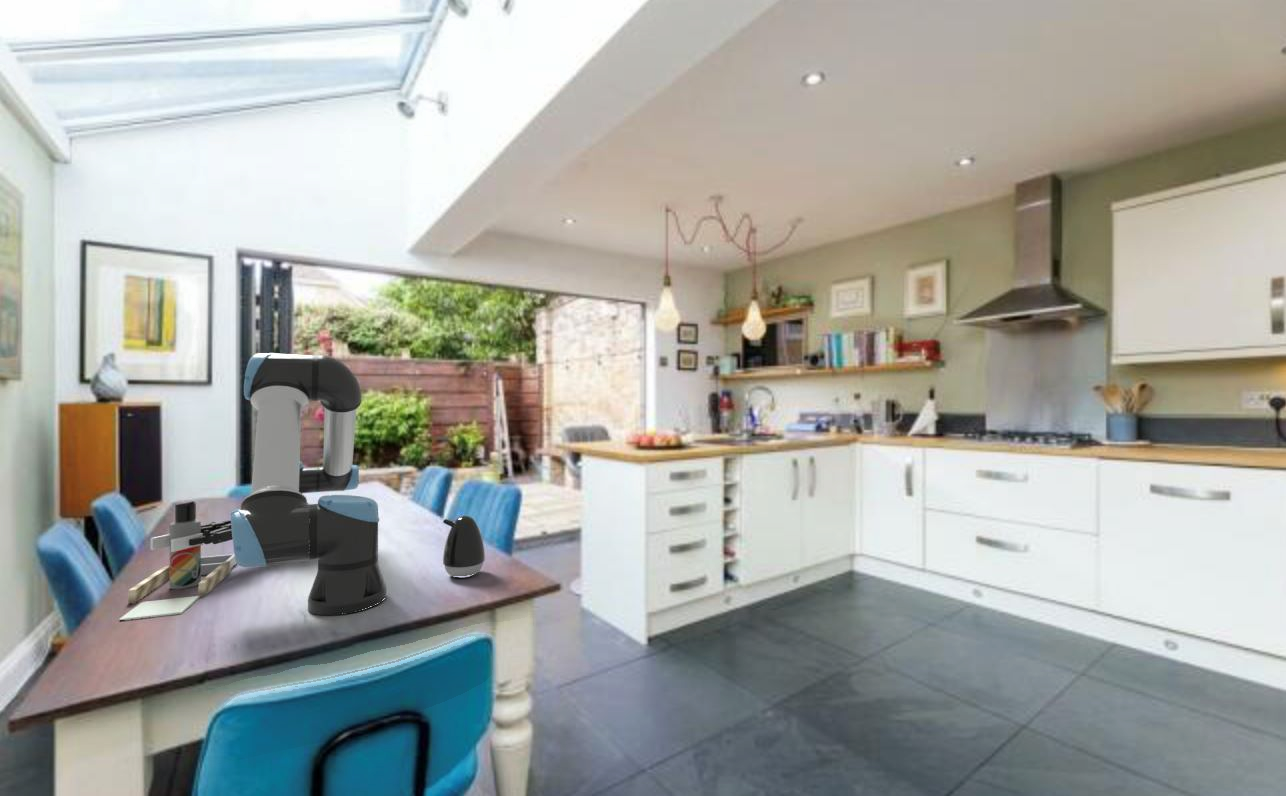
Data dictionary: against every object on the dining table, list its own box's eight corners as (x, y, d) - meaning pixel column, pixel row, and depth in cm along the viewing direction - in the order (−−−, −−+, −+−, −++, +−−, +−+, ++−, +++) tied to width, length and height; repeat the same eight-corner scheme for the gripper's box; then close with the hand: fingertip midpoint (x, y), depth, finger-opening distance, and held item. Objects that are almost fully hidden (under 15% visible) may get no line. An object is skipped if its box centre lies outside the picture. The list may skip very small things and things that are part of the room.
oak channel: (205, 595, 121) (205, 582, 121) (128, 604, 116) (128, 590, 116) (230, 572, 138) (230, 560, 138) (163, 578, 133) (164, 566, 133)
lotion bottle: (186, 589, 125) (186, 503, 125) (162, 589, 125) (163, 504, 125) (206, 581, 131) (207, 499, 131) (183, 581, 131) (184, 499, 131)
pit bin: (226, 572, 138) (226, 562, 138) (167, 578, 133) (167, 568, 133) (237, 563, 146) (237, 553, 146) (182, 568, 141) (182, 558, 141)
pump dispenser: (448, 569, 141) (448, 511, 141) (488, 568, 142) (488, 511, 142) (436, 582, 131) (437, 520, 131) (480, 581, 132) (480, 519, 132)
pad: (181, 613, 111) (181, 611, 111) (118, 621, 107) (118, 619, 107) (199, 597, 120) (199, 595, 120) (142, 603, 116) (142, 602, 116)
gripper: (283, 538, 143) (193, 564, 121) (228, 534, 147) (130, 558, 125) (283, 510, 143) (193, 530, 121) (228, 507, 148) (131, 526, 125)
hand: (162, 544), depth 123 cm, fingers closed on lotion bottle, 5 cm apart
